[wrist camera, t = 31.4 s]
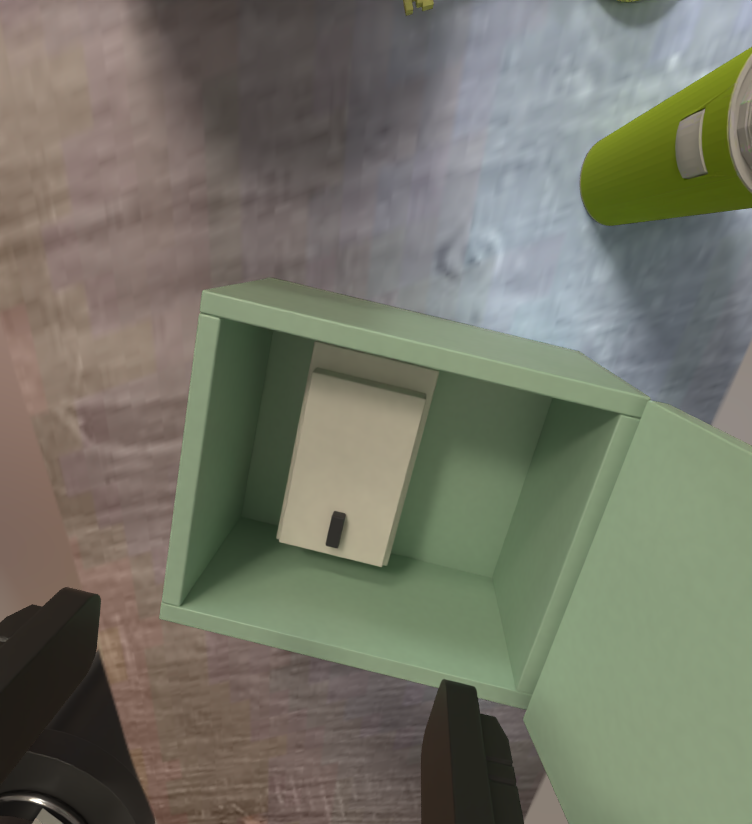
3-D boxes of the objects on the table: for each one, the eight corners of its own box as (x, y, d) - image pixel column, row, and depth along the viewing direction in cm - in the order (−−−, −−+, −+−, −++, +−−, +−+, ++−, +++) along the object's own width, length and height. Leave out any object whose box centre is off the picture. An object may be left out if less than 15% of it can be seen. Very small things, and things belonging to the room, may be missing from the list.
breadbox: (230, 518, 31) (158, 619, 23) (270, 277, 27) (201, 289, 19) (499, 585, 31) (528, 711, 22) (580, 351, 27) (652, 398, 18)
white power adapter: (390, 536, 30) (385, 584, 25) (289, 511, 30) (267, 555, 25) (437, 357, 27) (440, 378, 22) (326, 330, 27) (307, 346, 22)
